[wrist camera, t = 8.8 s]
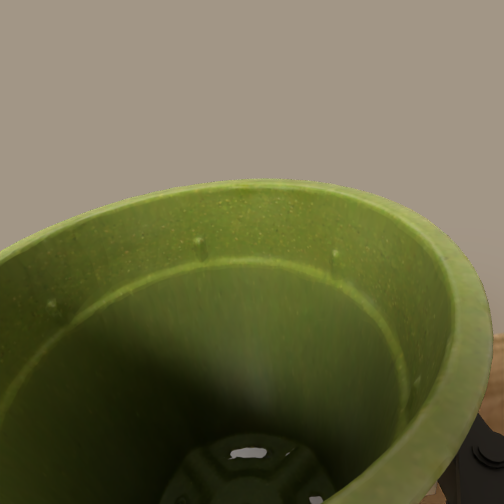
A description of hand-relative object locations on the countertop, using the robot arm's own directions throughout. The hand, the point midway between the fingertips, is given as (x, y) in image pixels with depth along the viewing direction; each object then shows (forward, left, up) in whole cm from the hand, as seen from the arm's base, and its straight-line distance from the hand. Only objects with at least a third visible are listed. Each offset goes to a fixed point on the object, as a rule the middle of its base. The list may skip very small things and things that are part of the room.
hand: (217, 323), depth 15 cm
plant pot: (+4, +3, -6) cm, 8 cm away
